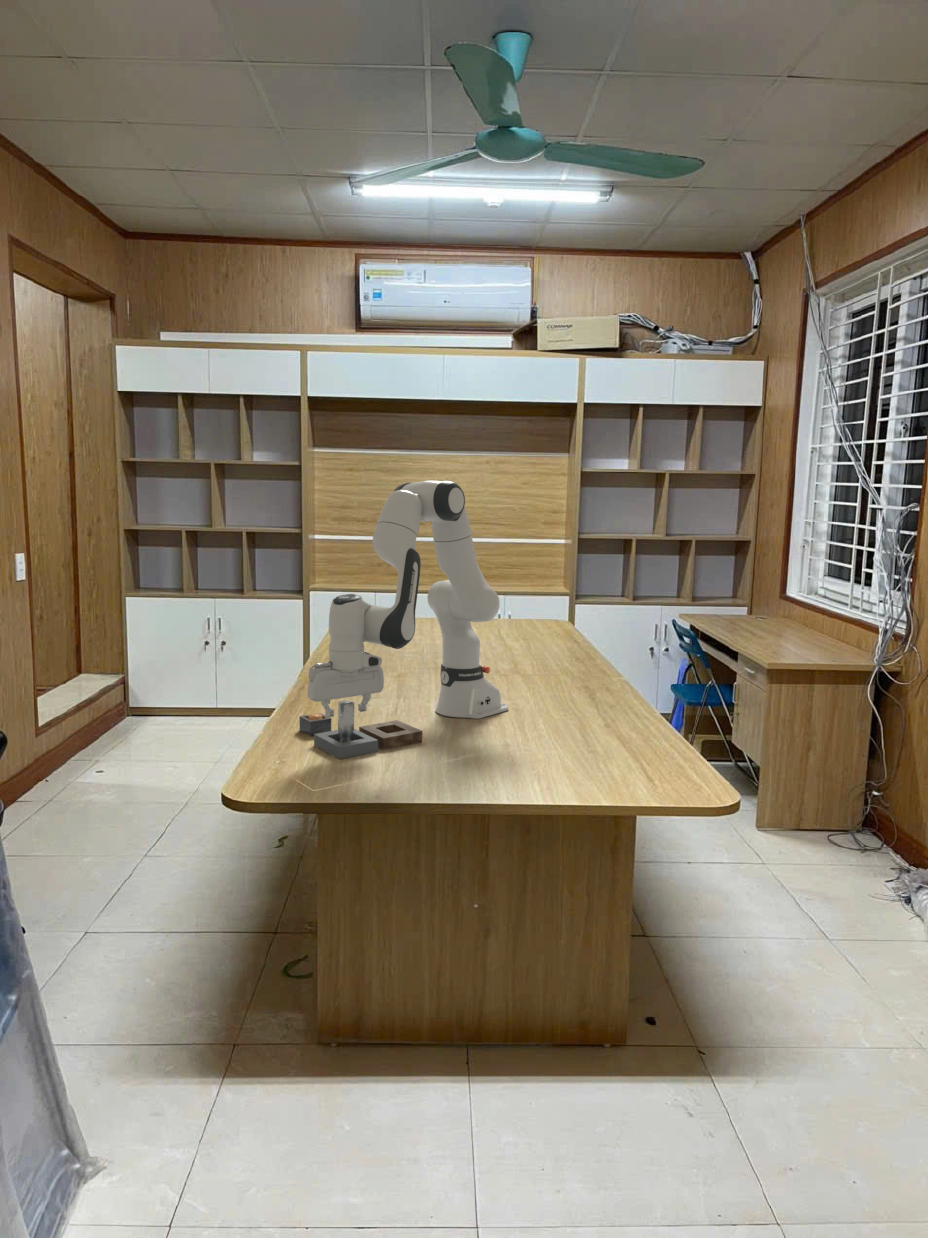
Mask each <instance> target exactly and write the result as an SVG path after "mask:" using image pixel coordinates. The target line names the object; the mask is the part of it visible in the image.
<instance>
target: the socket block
mask: <svg viewBox="0 0 928 1238" xmlns="http://www.w3.org/2000/svg"><path fill="white" fill-rule="evenodd" d="M358 731H360V732H362V733H364V734H366V735H368V736H371V737H373V738H375V739H377V740H378V749H381V750H389V749H394V748H399V747H405V746H409V745H413V744H414V745H415V744H421V743H423V733H424V732H423V730H421V729H419V728H416V727H415V726H413V725H409V724H407V723H405V722H403V721H400V720H391V721H390V720H389V721H384V722H379V723H374V724H368V725H362V726H358Z"/></svg>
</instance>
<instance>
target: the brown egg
mask: <svg viewBox="0 0 928 1238" xmlns="http://www.w3.org/2000/svg"><path fill="white" fill-rule="evenodd" d="M321 714H322V713H321ZM321 714H317V713H310V714H308V715H309V719H310V720H318V719H322V715H321Z"/></svg>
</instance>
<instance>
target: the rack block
mask: <svg viewBox="0 0 928 1238" xmlns="http://www.w3.org/2000/svg"><path fill="white" fill-rule="evenodd" d="M313 746H314V747H316V748H318V749H320V750H322V751H324V752H325V753H327V754H329V755H330V756H333V757H335V759H336V758H337V759H338V760H343V759H348V758H353V757H358V756H363V755H367V754H372V753H378V752H379V747H378V740H377V739H375V738H373V737H371V736H368V735H366V734H364V733H362V732H360V731H359V729H356V728H354V740H353V741H348V742H343V743H340V742H338V729H336V730H331V731H329V732H323V733H317V734H314V736H313Z"/></svg>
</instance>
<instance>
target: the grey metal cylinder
mask: <svg viewBox="0 0 928 1238" xmlns="http://www.w3.org/2000/svg"><path fill="white" fill-rule="evenodd" d="M337 703H338V704H337V707H338V708H337V711H338V712H337V716H338V717H337V730H338V742H340V743H343V742H348V741H353V740H354V729H355V701H354V700H341V701H338V702H337Z"/></svg>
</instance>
